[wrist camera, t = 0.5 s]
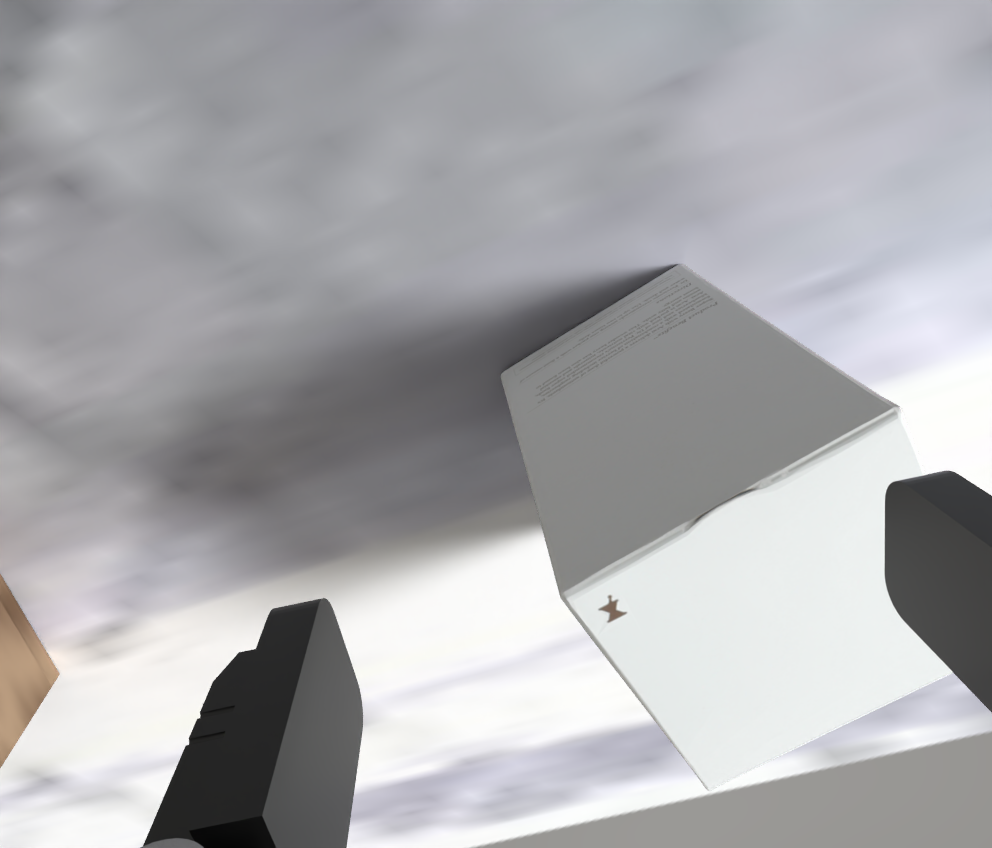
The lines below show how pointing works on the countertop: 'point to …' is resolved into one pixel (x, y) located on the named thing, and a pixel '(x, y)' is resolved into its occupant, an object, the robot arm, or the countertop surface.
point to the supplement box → (720, 520)
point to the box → (19, 672)
